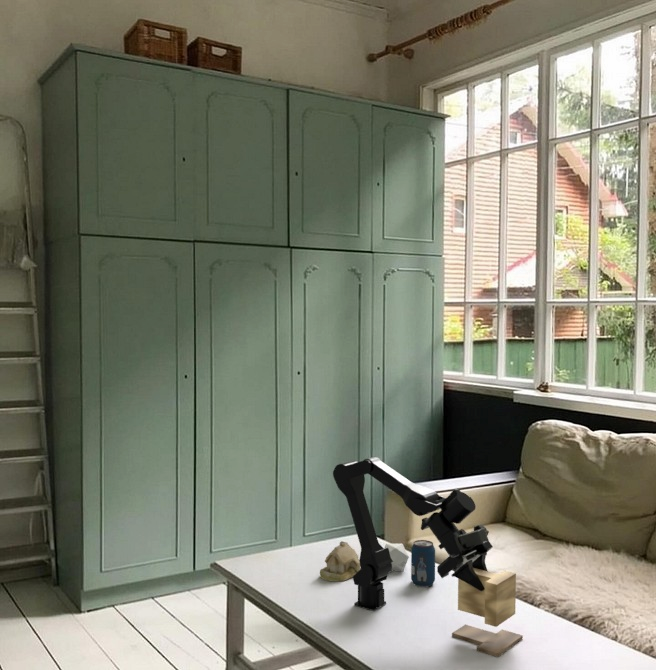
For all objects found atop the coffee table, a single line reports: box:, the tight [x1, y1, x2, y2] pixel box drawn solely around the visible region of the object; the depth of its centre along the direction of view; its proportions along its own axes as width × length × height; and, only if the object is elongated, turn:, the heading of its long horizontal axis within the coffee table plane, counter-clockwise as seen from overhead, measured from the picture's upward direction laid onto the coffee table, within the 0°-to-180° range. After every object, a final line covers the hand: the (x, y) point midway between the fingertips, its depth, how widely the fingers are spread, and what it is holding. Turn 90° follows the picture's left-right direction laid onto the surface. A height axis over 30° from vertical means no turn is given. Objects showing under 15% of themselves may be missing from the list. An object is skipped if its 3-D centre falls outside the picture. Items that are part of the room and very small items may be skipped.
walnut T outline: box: [451, 624, 524, 658], centre depth 187 cm, size 14×13×1 cm
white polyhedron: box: [384, 543, 410, 572], centre depth 237 cm, size 8×9×10 cm
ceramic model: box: [319, 541, 361, 582], centre depth 233 cm, size 14×11×10 cm
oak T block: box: [457, 568, 517, 628], centre depth 187 cm, size 12×10×10 cm
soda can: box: [410, 539, 436, 588], centre depth 225 cm, size 7×7×12 cm
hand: (486, 587), depth 187 cm, fingers closed on oak T block, 4 cm apart
